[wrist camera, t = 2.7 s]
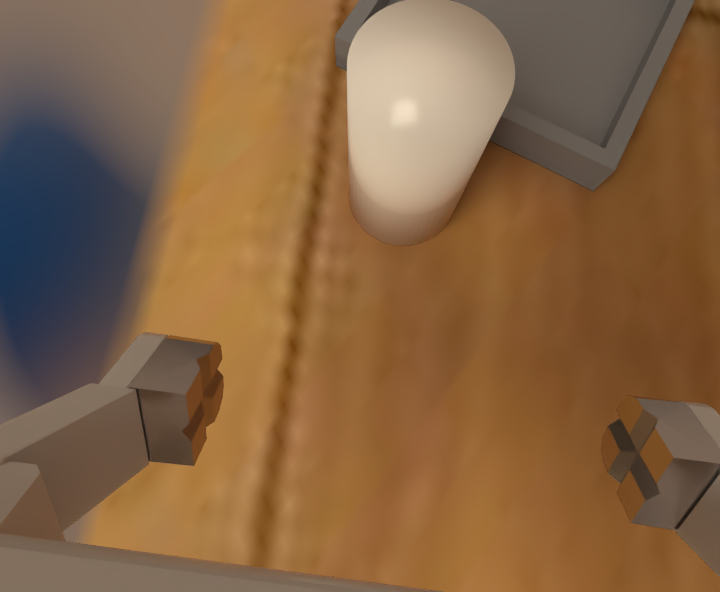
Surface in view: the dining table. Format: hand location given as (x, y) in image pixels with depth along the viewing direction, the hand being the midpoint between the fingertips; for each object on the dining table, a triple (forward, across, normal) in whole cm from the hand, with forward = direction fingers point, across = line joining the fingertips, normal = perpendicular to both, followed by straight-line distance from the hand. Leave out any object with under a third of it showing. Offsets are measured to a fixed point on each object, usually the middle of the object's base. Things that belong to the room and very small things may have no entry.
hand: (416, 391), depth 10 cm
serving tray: (+29, -6, -6) cm, 31 cm away
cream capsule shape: (+20, 0, +3) cm, 21 cm away
